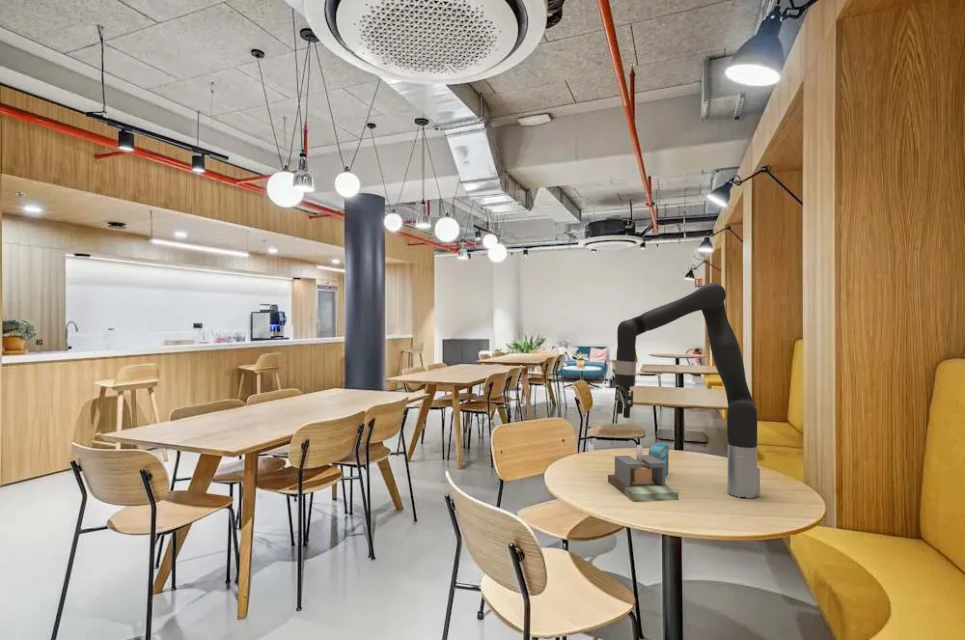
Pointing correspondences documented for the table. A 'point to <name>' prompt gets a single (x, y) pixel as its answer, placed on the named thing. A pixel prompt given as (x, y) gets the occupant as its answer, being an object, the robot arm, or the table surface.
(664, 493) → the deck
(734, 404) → the robot arm
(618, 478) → the tunnel
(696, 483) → the table surface
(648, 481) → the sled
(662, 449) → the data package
